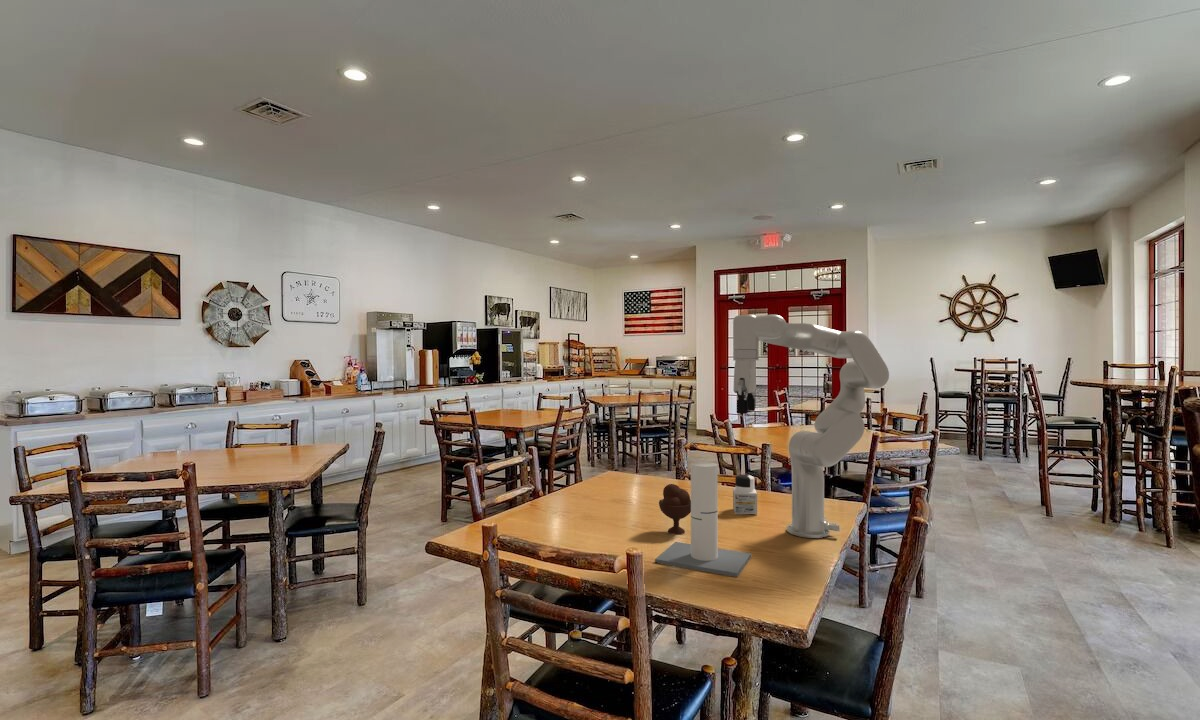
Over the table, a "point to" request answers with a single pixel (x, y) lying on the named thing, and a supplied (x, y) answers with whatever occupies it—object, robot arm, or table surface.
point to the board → (724, 564)
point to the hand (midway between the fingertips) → (745, 412)
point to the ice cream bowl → (675, 506)
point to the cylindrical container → (704, 511)
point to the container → (744, 495)
